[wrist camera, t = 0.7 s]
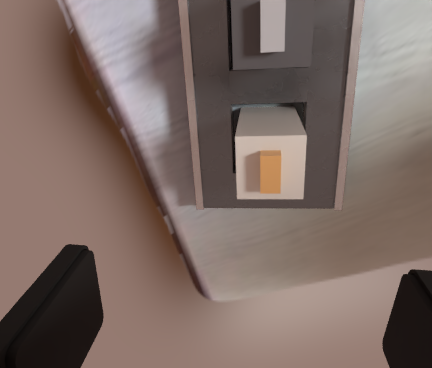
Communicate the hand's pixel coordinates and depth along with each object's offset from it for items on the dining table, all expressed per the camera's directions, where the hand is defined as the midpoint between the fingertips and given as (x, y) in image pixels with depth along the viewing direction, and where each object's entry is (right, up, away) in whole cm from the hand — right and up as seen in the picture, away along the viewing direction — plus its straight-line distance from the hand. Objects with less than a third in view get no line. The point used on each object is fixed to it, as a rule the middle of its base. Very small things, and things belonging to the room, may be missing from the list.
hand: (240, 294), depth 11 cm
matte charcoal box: (+3, +15, +15) cm, 21 cm away
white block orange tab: (+4, +8, +18) cm, 20 cm away
